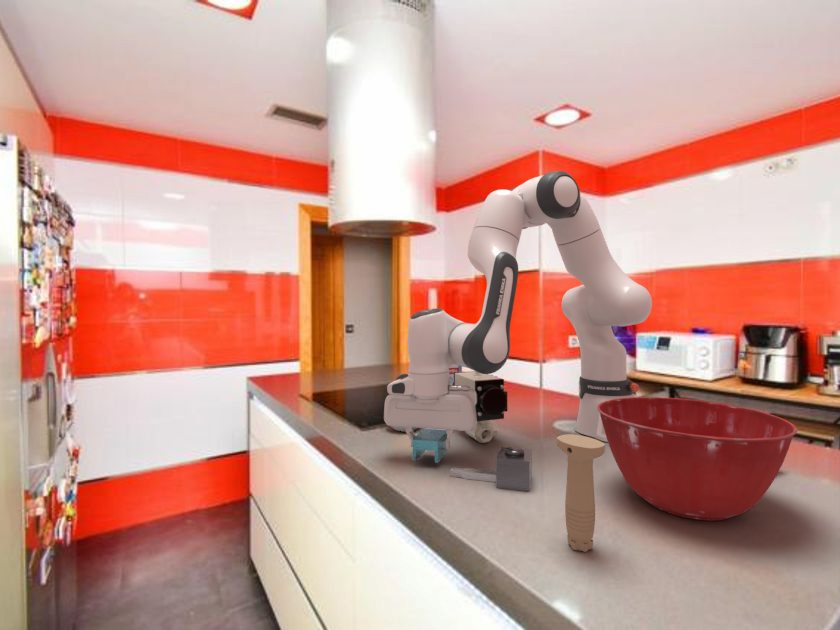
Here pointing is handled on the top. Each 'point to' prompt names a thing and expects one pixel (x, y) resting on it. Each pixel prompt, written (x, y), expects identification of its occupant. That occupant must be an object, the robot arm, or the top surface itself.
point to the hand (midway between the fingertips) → (430, 447)
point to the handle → (580, 488)
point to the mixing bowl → (695, 453)
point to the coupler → (504, 470)
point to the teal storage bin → (429, 443)
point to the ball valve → (485, 402)
